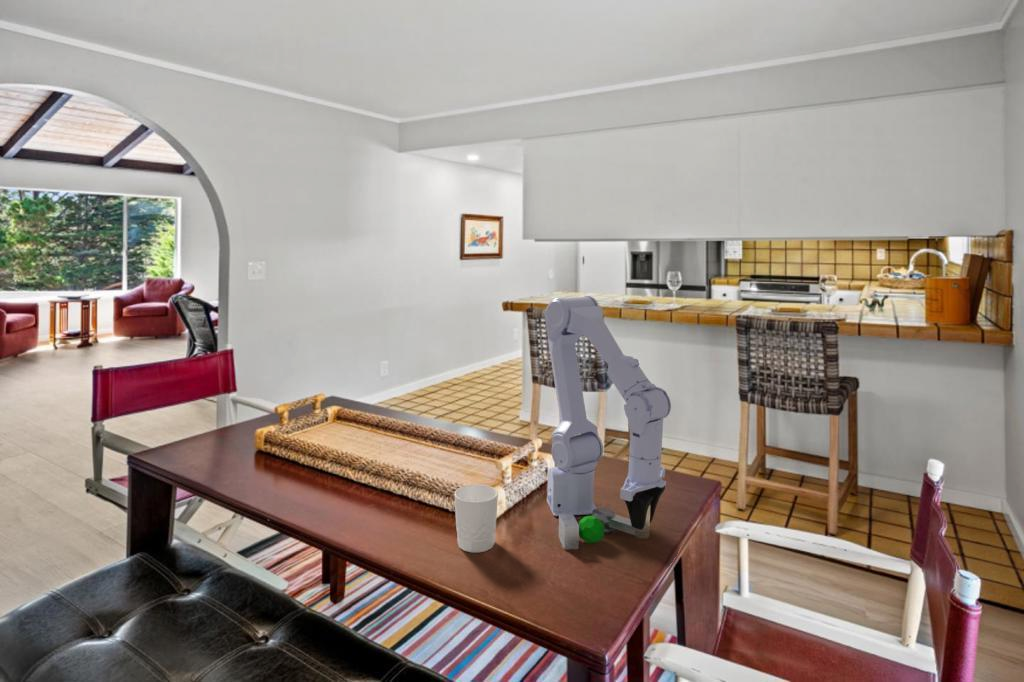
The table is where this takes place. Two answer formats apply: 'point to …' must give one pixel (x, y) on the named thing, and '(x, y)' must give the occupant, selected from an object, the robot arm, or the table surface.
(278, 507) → the table surface
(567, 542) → the light grey block
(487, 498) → the white cup
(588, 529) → the polyhedron
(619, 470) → the table surface
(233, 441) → the table surface
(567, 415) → the robot arm
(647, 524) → the lever
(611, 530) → the pivot base
